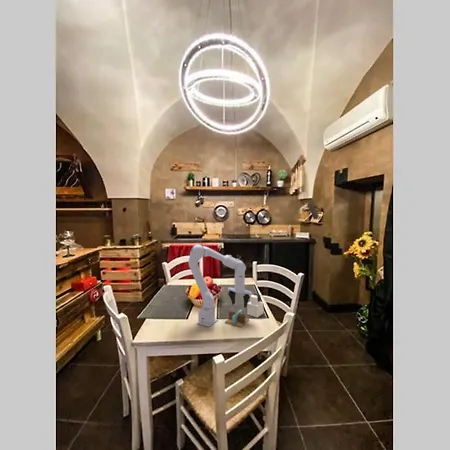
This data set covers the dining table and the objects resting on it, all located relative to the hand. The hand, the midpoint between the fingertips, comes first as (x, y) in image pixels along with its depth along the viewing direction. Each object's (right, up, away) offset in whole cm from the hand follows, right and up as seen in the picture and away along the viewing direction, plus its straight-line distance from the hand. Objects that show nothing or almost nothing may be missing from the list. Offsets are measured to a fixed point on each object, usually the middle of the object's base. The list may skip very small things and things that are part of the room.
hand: (239, 305), depth 146 cm
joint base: (-1, -8, -2) cm, 9 cm away
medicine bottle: (+10, -8, +8) cm, 15 cm away
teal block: (-1, -8, -1) cm, 8 cm away
